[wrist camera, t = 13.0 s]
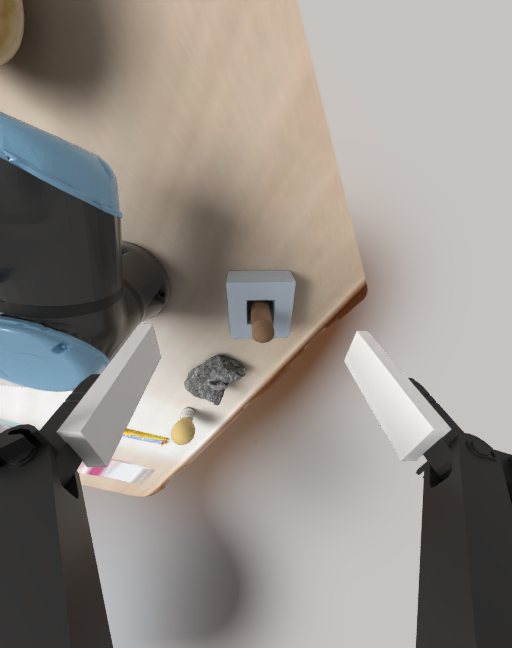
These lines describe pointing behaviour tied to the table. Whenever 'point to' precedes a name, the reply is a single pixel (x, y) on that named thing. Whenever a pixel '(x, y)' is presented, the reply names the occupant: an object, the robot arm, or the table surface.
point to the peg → (261, 321)
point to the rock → (213, 378)
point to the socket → (260, 287)
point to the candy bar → (144, 436)
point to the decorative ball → (10, 28)
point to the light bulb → (184, 428)
